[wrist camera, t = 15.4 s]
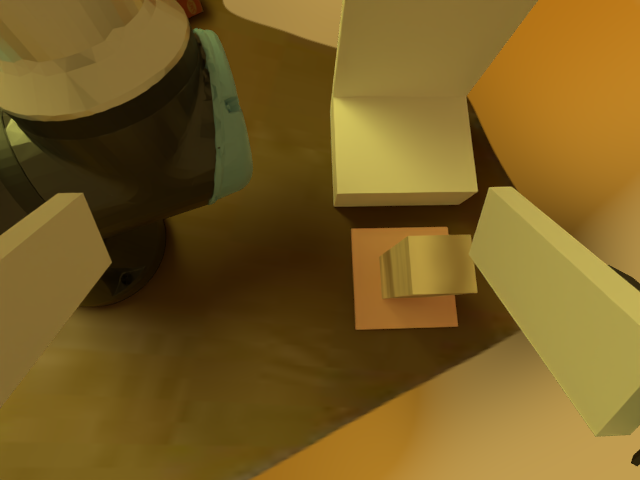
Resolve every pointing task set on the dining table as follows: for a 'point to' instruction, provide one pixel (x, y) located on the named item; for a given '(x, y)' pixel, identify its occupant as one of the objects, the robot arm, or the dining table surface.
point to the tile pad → (368, 285)
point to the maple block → (428, 267)
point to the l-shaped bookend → (411, 97)
